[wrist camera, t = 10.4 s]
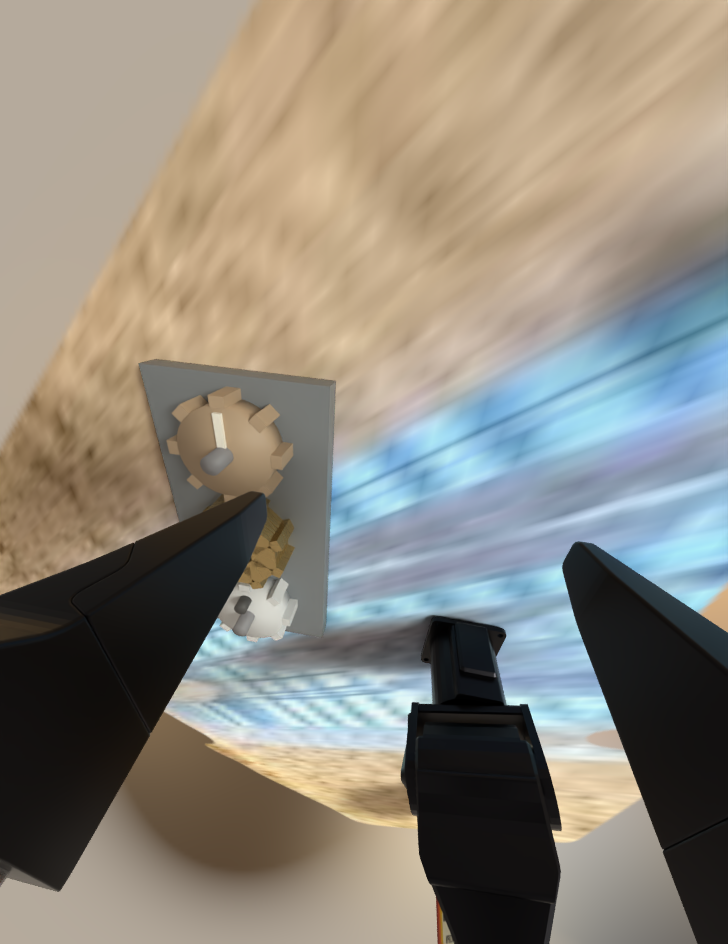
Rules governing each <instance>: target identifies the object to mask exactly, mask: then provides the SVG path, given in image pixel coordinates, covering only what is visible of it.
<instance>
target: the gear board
mask: <svg viewBox="0 0 728 944" xmlns="http://www.w3.org/2000/svg"><path fill="white" fill-rule="evenodd" d="M139 367H140V371H141V375H142V379H143V383H144V387H145V390H146V394H147V398H148V402H149V406H150V410H151V414H152V418H153V421H154V425H155V429H156V433H157V437H158V441H159V445H160V448H161V452H162V456H163V460H164V464H165V468H166V472H167V475H168V479H169V483H170V487H171V491H172V495H173V499H174V503H175V506H176V510H177V514H178V518H179V522H181V521H183V520H186V519H188V518H190V517H193V516H195V515H197V514H199V513H202V512H203V511H204V510H205V509H206V508H207V507H208V506H211V505H212V504H213V503H214V502H215V501H216V500H217V499H218V498H219V497H220V496H221V495H222V494H224V500H225V502H227V501H229V500H231V499H234V498H236V497H238V496H240V495H243V494H245V493H247V492H249V491H256V492H262V493H264V494H265V497H266V498H267V499H269V500H271V501H270V503H269V505H268V506H269V507H270V508H271V509H272V510H273V511H274V512H275V513H276V514H277V515H278V516H279V517H280V518H281V519H282V520H284V519H290V520H291V522H292V524H293V526H294V530H293V532H292V533H291V535H290V537H289V539H288V544H289V545H291V546H293V547H295V548H294V551H293V553H292V555H291V557H290V559H289V561H288V563H287V565H286V567H285V569H284V571H283V573H282V575H281V577H280V578H278V577H275V576H273V575H271V576H270V577H268V579H267V581H266V583H265V585H264V587H263V588H259V589H252V587H251V586H250V584H247V583H241V582H237V584H236V586H235V588H234V589H233V591H232V593H231V595H230V596H229V598H228V600H227V602H226V603H225V605H224V607H223V609H222V610H221V612H220V614H219V616H218V617H217V618H219V619H220V620H221V621H222V623H221V624H220V627H222V628H223V629H224V630H226V631H229V630H231V629H232V630H233V632H234V633H235V634H236V635H238V636H247V640H248V641H253V642H257V641H258V639H259V638H266V637H271V638H273V639H274V640H275V641H277V640H279V639H281V638H283V635H284V633H285V631H288V632H293V633H299V634H304V635H309V636H314V637H320V638H322V637H323V634H324V630H325V626H326V616H327V591H328V566H329V541H330V515H331V490H332V465H333V440H334V415H335V389H336V381H332V380H324V379H316V378H308V377H299V376H291V375H283V374H275V373H266V372H258V371H250V370H241V369H233V368H225V367H217V366H208V365H200V364H192V363H184V362H175V361H167V360H159V359H154V360H150V361H146V362H142V363H139Z"/></svg>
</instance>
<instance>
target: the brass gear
mask: <svg viewBox="0 0 728 944" xmlns="http://www.w3.org/2000/svg"><path fill="white" fill-rule="evenodd" d="M270 501H271V500H269V499H267V498H266V507H267V520H266V523H265V525H264V528H263V530H262V532H261V535H260V537H259V539H258V542H257V544H256V546H255V549H254V551H253V553H252V556H251V558H250V560H249V562H248V565H247V566H246V568H245V570H244V572H243V574H242V575H241V577H240V579H239V581H238V582H241V583H247V584H250V586H251V587H252V589H259V588H263V587H264V585H265V583H266V581H267V579H268V577H270V576H271V575H273V576H275V577H278V578H280V577H281V575H282V573H283V571H284V569H285V567H286V565H287V563H288V561H289V559H290V557H291V555H292V553H293V551H294V548H295V547H293V546H291V545H289V544H288V539H289V537H290V535H291V533H292V532H293V530H294V526H293V524H292V522H291V520H290V519H284V520H282V519H281V518H280V517H279V516H278V515H277V514H276V513H275V512H274V511H273V510H272V509H271V508H270V507H269V506H268V505H269V503H270ZM224 502H225V500H224V494H222V495H221V496H220V497H219V498H218V499H217V500H216V501H215V502H214V503H213V504H212V505H211V506H208V507H207V508H206V509H205V510H204V511H206V510H209V509H211V508H213V507H215V506H218V505H220V504H222V503H224ZM204 511H203V512H204Z"/></svg>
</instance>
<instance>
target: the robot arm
mask: <svg viewBox="0 0 728 944" xmlns="http://www.w3.org/2000/svg"><path fill="white" fill-rule="evenodd" d="M266 520H267V507H266V497H265V494H264V493H262V492H256V491H249V492H247V493H245V494H243V495H240V496H238V497H236V498H234V499H231V500H229V501H227V502H224V503H222V504H220V505H218V506H215V507H213V508H211V509H209V510H206V511H204V512H202V513H199V514H197V515H195V516H193V517H190V518H188V519H186V520H183V521H181V522H179V523H177V524H174V525H172V526H170V527H168V528H165V529H163V530H161V531H158V532H156V533H154V534H152V535H149V536H147V537H145V538H143V539H140V540H138V541H136V542H135V544H134V543H131V544H129V545H126V546H124V547H122V548H120V549H117V550H115V551H113V552H110V553H108V554H106V555H103V556H101V557H99V558H96V559H94V560H91V561H89V562H86V563H84V564H81V565H79V566H76V567H73V568H71V569H68V570H66V571H63V572H60V573H58V574H55V575H52V576H50V577H47V578H45V579H42V580H39V581H37V582H34V583H31V584H29V585H26V586H23V587H21V588H18V589H15V590H13V591H10V592H7V593H5V594H2V595H0V886H1V885H2V884H3V882H4V881H5V879H6V878H10V879H14V880H17V881H21V882H24V883H28V884H32V885H35V886H39V887H42V888H46V889H50V890H53V891H57V892H59V891H60V890H61V889H62V887H63V886H64V884H65V882H66V881H67V879H68V878H69V876H70V874H71V873H72V871H73V869H74V867H75V866H76V864H77V862H78V860H79V859H80V857H81V855H82V854H83V852H84V850H85V848H86V847H87V845H88V843H89V841H90V840H91V838H92V836H93V834H94V833H95V831H96V829H97V827H98V825H99V824H100V822H101V820H102V819H103V817H104V815H105V813H106V812H107V810H108V808H109V806H110V804H111V803H112V801H113V799H114V798H115V796H116V794H117V792H118V790H119V789H120V787H121V785H122V784H123V782H124V780H125V778H126V777H127V775H128V773H129V771H130V770H131V768H132V766H133V764H134V763H135V761H136V759H137V757H138V756H139V754H140V752H141V750H142V749H143V747H144V745H145V743H146V742H147V740H148V738H149V737H150V733H151V732H152V731H153V729H154V727H155V726H156V724H157V722H158V720H159V718H160V717H161V715H162V713H163V712H164V710H165V708H166V706H167V705H168V703H169V701H170V699H171V698H172V696H173V694H174V692H175V691H176V689H177V687H178V685H179V684H180V682H181V680H182V678H183V677H184V675H185V673H186V671H187V670H188V668H189V666H190V664H191V663H192V661H193V659H194V658H195V656H196V654H197V652H198V651H199V649H200V647H201V645H202V644H203V642H204V640H205V638H206V637H207V635H208V633H209V631H210V630H211V628H212V626H213V624H214V623H215V621H216V619H217V617H218V616H219V614H220V612H221V610H222V609H223V607H224V605H225V603H226V602H227V600H228V598H229V596H230V595H231V593H232V591H233V589H234V588H235V586H236V584H237V582H238V581H239V579H240V577H241V575H242V574H243V572H244V570H245V568H246V566H247V565H248V562H249V560H250V558H251V556H252V553H253V551H254V549H255V546H256V544H257V542H258V539H259V537H260V535H261V532H262V530H263V528H264V525H265V523H266ZM562 570H563V574H564V578H565V582H566V586H567V590H568V594H569V597H570V601H571V605H572V609H573V613H574V616H575V620H576V623H577V626H578V629H579V631H580V634H581V637H582V639H583V642H584V645H585V647H586V650H587V653H588V655H589V658H590V660H591V663H592V666H593V668H594V671H595V674H596V676H597V679H598V682H599V684H600V687H601V689H602V692H603V695H604V697H605V700H606V703H607V705H608V708H609V711H610V713H611V716H612V719H613V721H614V724H615V726H616V729H617V732H618V734H619V737H620V740H621V742H622V745H623V748H624V750H625V753H626V755H627V758H628V761H629V763H630V766H631V769H632V771H633V774H634V777H635V779H636V782H637V785H638V787H639V790H640V792H641V795H642V798H643V800H644V802H645V806H646V808H647V811H648V813H649V816H650V819H651V821H652V824H653V827H654V829H655V832H656V835H657V837H658V840H659V843H660V845H661V847H662V849H664V850H663V854H664V856H665V859H666V862H667V864H668V867H669V870H670V872H671V875H672V878H673V880H674V883H675V886H676V888H677V891H678V893H679V896H680V899H681V901H682V904H683V907H684V909H685V912H686V914H687V917H688V920H689V923H690V925H691V928H692V930H693V933H694V935H695V938H696V941H697V943H698V944H728V633H727V632H726V631H724V630H723V629H721V628H719V627H718V626H717V625H715V624H714V623H712V622H711V621H709V620H708V619H706V618H705V617H703V616H702V615H700V614H699V613H697V612H696V611H694V610H693V609H691V608H690V607H688V606H687V605H685V604H684V603H682V602H681V601H679V600H678V599H676V598H675V597H673V596H672V595H670V594H668V593H667V592H665V591H664V590H662V589H661V588H659V587H658V586H656V585H655V584H653V583H652V582H650V581H649V580H647V579H646V578H644V577H643V576H641V575H640V574H638V573H637V572H635V571H634V570H632V569H631V568H629V567H628V566H626V565H625V564H623V563H622V562H620V561H619V560H617V559H616V558H614V557H613V556H611V555H610V554H608V553H607V552H605V551H604V550H602V549H601V548H599V547H597V546H596V545H594V544H592V543H586V542H580V541H578V542H575V543H574V544H573V545H572V547H571V549H570V551H569V553H568V554H567V556H566V558H565V560H564V562H563V566H562ZM505 638H506V632H505V630H504V629H502V628H497V627H492V626H486V625H481V624H475V623H470V622H464V621H458V620H453V619H447V618H442V617H434V618H432V620H431V623H430V627H429V630H428V633H427V637H426V640H425V643H424V647H423V650H422V653H421V660H422V661H423V662H425V663H430V664H431V680H432V704H419V702H412V707H411V713H409V714H408V733H407V744H406V749H405V754H404V758H403V763H402V768H401V781H402V783H403V784H404V786H405V787H406V789H407V794H408V798H409V805H410V810H411V813H412V815H414V816H417V822H418V845H419V855H420V859H421V862H422V865H423V867H424V871H425V874H426V876H427V879H428V881H429V883H430V884H431V885H432V887H433V890H434V892H435V895H436V898H437V900H438V903H439V905H440V908H441V910H442V913H443V916H444V918H445V921H446V923H447V926H448V928H449V931H450V934H451V936H452V939H453V941H454V944H549V941H550V936H551V930H552V924H553V918H554V912H555V906H556V899H557V894H558V887H559V882H560V873H561V870H560V864H559V859H558V855H557V851H556V847H555V842H554V838H553V834H552V830H556V831H561V830H562V828H561V820H560V814H559V809H558V805H557V800H556V796H555V792H554V788H553V784H552V780H551V776H550V773H549V769H548V766H547V763H546V760H545V757H544V753H543V750H542V747H541V744H540V741H539V738H538V735H537V732H536V729H535V726H534V723H533V720H532V716H531V713H530V710H529V707H528V704H520V706H512V705H506V700H505V696H504V691H503V687H502V682H501V678H500V673H499V669H498V665H497V660H496V656H497V654H498V652H499V650H500V648H501V646H502V644H503V642H504V640H505Z"/></svg>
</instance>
